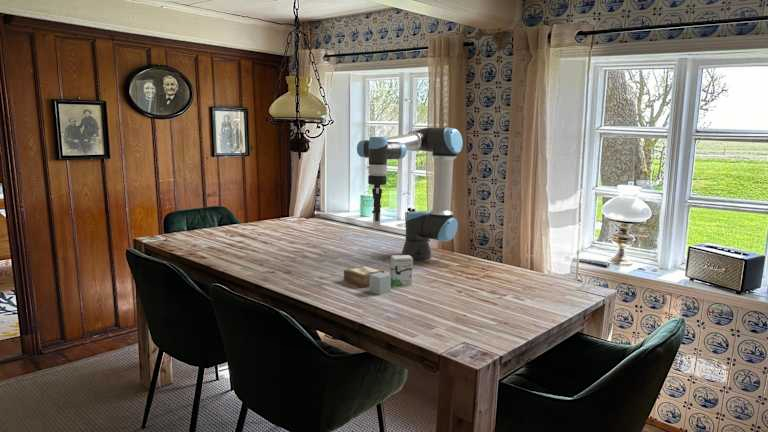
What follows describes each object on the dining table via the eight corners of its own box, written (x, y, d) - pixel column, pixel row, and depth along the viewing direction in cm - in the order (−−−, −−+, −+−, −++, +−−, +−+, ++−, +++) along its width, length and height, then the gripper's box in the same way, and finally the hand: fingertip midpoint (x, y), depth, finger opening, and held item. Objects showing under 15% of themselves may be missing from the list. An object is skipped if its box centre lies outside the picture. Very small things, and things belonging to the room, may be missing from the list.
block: (380, 288, 216) (380, 271, 215) (390, 292, 212) (390, 275, 211) (369, 291, 212) (369, 274, 211) (379, 295, 208) (379, 277, 207)
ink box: (392, 286, 220) (393, 258, 218) (389, 282, 224) (389, 255, 222) (412, 285, 222) (413, 257, 220) (408, 281, 227) (409, 254, 225)
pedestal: (365, 276, 233) (365, 264, 232) (384, 282, 225) (384, 270, 224) (343, 281, 225) (344, 269, 224) (362, 288, 217) (362, 275, 216)
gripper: (368, 172, 230) (367, 220, 234) (368, 177, 206) (367, 231, 209) (385, 172, 231) (384, 220, 234) (387, 177, 206) (386, 231, 209)
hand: (376, 225), depth 222 cm, fingers open, 13 cm apart
